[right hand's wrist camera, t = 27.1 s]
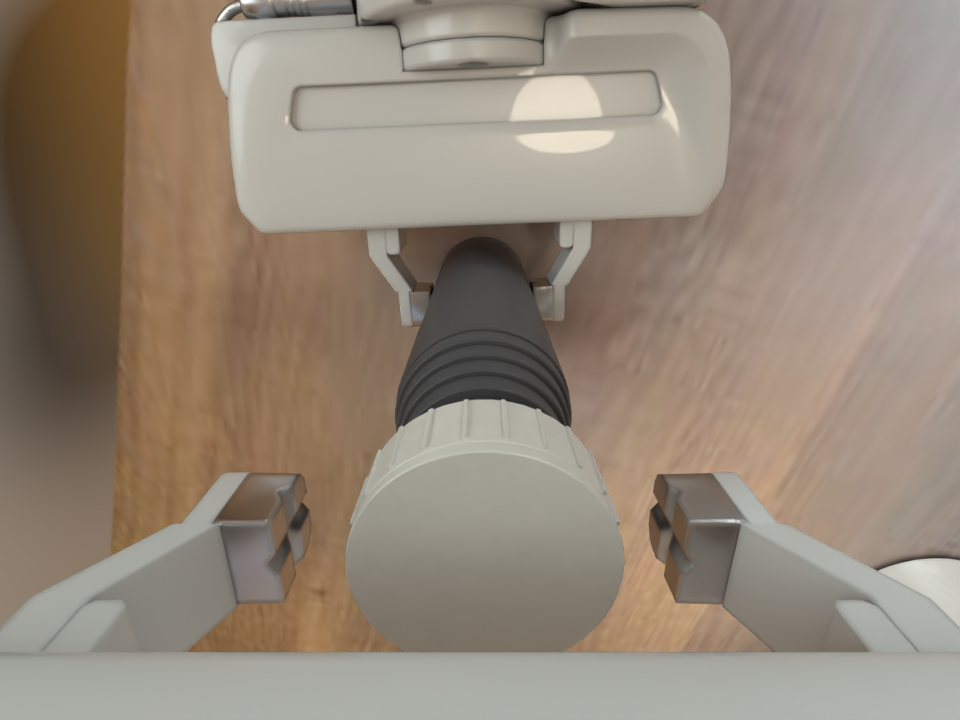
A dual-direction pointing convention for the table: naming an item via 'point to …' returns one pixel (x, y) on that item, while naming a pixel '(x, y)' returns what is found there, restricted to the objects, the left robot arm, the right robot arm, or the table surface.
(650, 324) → the table surface
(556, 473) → the cap
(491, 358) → the bottle
